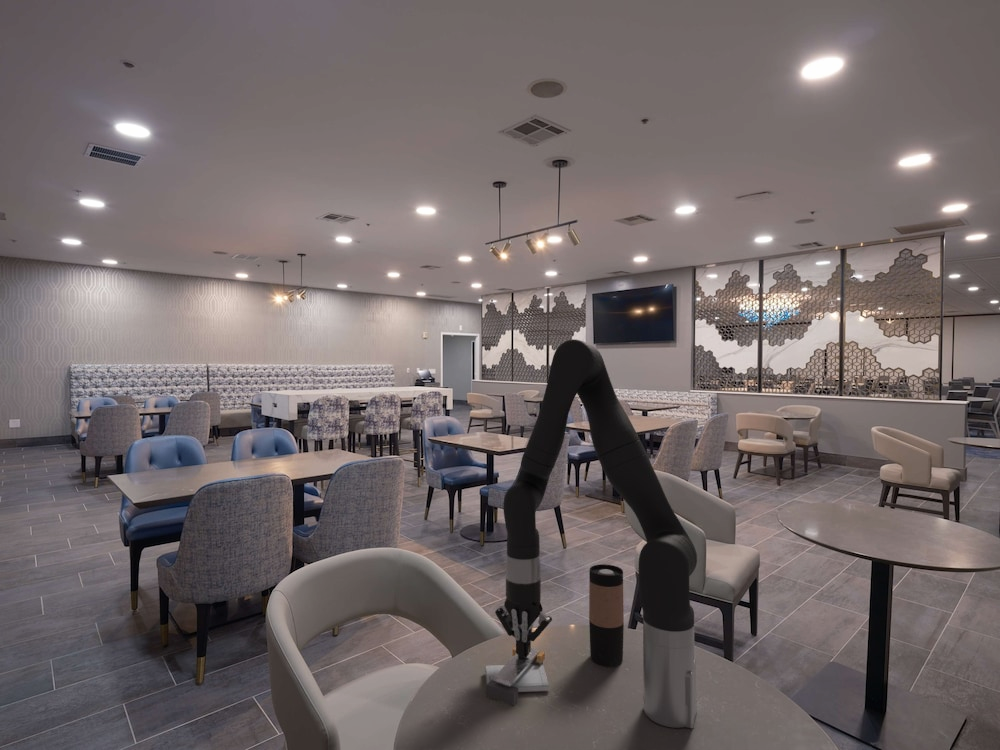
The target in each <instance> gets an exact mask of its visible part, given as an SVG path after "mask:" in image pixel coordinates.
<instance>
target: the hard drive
mask: <svg viewBox="0 0 1000 750" xmlns="http://www.w3.org/2000/svg"><path fill="white" fill-rule="evenodd" d="M505 665H506V664H504V665H501V664H500V665H497V664H496V665H485V668H484V669H485V671H484V673H485V680H486V681H485V683H486V685H485V686H487V684H488V683H489V682H490V681H491V680H492V678H493V677H495V675H496V674H497V673H498V672H499V671H500V670H501V669H502V668H503V667H504V666H505ZM512 686H514V687H517V688H518V693H526V692H527V693H528V692H549V691H550V683H549V680H548V678H547V674H546V670H545V667H544V663H543V664H541V665H540V666H538V665H533V664H530V665H529V666H528V668H527V669H526V670H525V671H524V672H523V673H522V674H521V676H520V677H519V678H518V679H517V680H516V681H515V682H514V684H513V685H512Z"/></svg>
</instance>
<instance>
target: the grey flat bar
mask: <svg viewBox="0 0 1000 750" xmlns="http://www.w3.org/2000/svg"><path fill="white" fill-rule="evenodd" d="M540 651H541V650H540V649H536V648H531V652H530V654H529V655H528V657H526V658H525V659H522V658H518V654H516V655H515V656H513V657H512V658H510V660H509V661H508V662H507V663H506V664H504V665H505V666H504V667H503V668H502V669H501V670H500V671H499V672H498V673H497V674H496V675H495V677H493V678H492V682H494V683H498V684H501V685H505V686H508V687H512V685H513V684H514V682H515V681H516V680H517V679H518V678H519V677H520V676H521V674H522V673H523V672H524V671H525V670H526V669H527V668H528V666H529V665H530V664H531V663H532V662H533V661H534V660H535V658H536V657H537V655H538V654H539V652H540Z"/></svg>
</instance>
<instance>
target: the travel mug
mask: <svg viewBox="0 0 1000 750" xmlns="http://www.w3.org/2000/svg"><path fill="white" fill-rule="evenodd" d="M588 576H589V582H588V583H589V585H588V586H589V587H588V588H589V591H588V593H589V594H588V595H589V601H588V603H589V605H588V608H589V610H588V613H589V614H588V617H589V618H588V620H589V621H588V625H589V626H588V627H589V650H590V651H589V653H590V654H589V655H590V660H591V662H593V663H594V664H596V665H598V666H601V667H603V668H616V667H619V666H620V665H622V664H623V661H624V660H623V658H624V631H625V630H624V629H625V628H624V625H625V623H624V622H625V617H624V614H625V613H624V612H625V609H624V606H625V605H624V570H623V569H622V568H621V567H619V566H616V565H612V564H605V563H604V564H596V565H591V566H590V568H589V575H588Z"/></svg>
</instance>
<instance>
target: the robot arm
mask: <svg viewBox="0 0 1000 750" xmlns="http://www.w3.org/2000/svg"><path fill="white" fill-rule="evenodd" d="M548 373H549V374H548V378H547V383H546V387H545V391H544V394H543V398H542V402H541V406H540V409H539V412H538V415H537V419H536V420H535V423H534V426H533V429H532V431H531V435H530V437H529V439H528V441H527V445H526V447H525V449H524V451H523V454H522V456H521V461H520V467H521V468H520V470H519V474H518V476H517V477H516V478H517V479H516V481H515V483H514V485H512V486H511V487H509V489H507V490H506V492H505V495H504V498H503V516H504V524H505V529H506V534H507V536H506V560H505V561H506V562H505V570H504V571H505V572H504V573H505V601H504V604H503V605H500V606H499V607H498V608H497V609H496V610H495V612H494V613H495V616H496V617H497V619H498V620H499V622H500V623H501V626H502V627H503V629H504V630H505V632H506V633H507V635H508V636H509V637H511V636H512V637H513V638H514V640H515V646H516V653H517V654H518V658H522V659H525V658H526V657H528V655H529V654H530V652H531V646H532V645H531V644H532V643H531V642H535V640H536V639H537V638H538V637H539V636H540V635H541V634H542V633H543V632H544V630H545V629H546V628H547V627H548V626H549V625H550V624H551V622H552V621H553V618H552V616H551V615H547V614H546V613H544V611H543V610H544V609H543V605H542V603H541V599H542V597H541V596H542V595H541V593H542V592H541V591H542V589H541V587H542V585H541V584H542V583H541V582H542V577H541V575H542V573H541V571H542V569H541V568H542V567H541V566H542V565H541V564H542V563H541V557H540V532H539V530H538V528H537V525H536V511H537V509H538V508H539V507H540V506H541V503H542V502H543V499H544V497H545V493H546V490H547V487H548V483H549V479H550V475H551V473H552V472H553V470H554V467H555V465H556V463H557V460H558V457H559V455H560V452H561V450H562V447H563V444H564V440H565V435H566V429H567V423H568V418H569V413H570V411H571V407H572V405H573V402H574V399H575V398H576V395H577V396H578V398H579V399H580V403H582V405H583V408H584V410H585V412H586V417H587V420H588V426H589V432H590V436H591V441H592V442H591V443H592V445H593V450H594V451H595V455H596V457H597V458H598V459H597V460H598V461H599V463H600V466H601V467H602V470H603V472H604V474H605V476H606V478H607V480H608V482H609V483H610V485H611V486H612V487H613V489H614V490H615V491H616V492H617V494H618V495H619V496H620V497H621V498H622V499H623V500H624V501H625V502H626V504H627V505H628V506H629V507H630V509H631V510H632V511H633V513H634V515H635V517H636V519H637V520H638V522H639V525H640V527H641V529H642V532H643V534H644V537H645V540H646V543H645V544H644V546H643V547H642V548H641V550H640V552H639V557H638V590H639V591H638V592H639V596H638V597H639V603H640V606H641V609H642V614H643V615H642V618H643V619H642V620H643V621H642V626H643V627H642V629H643V633H642V635H643V639H642V640H643V643H642V645H643V647H642V648H643V649H642V650H643V651H642V652H643V660H642V661H643V662H642V663H643V664H642V665H643V666H642V667H643V677H642V678H643V697H642V698H643V699H642V700H643V712H644V714H645V715H646V717H648V719H650V720H651V721H652V722H654V723H656V724H659V725H660V726H664V727H667V728H676V729H677V728H680V729H681V728H688V729H693V728H694V724H695V720H696V716H697V712H698V710H697V708H698V706H697V705H698V703H697V702H698V701H697V700H698V699H697V698H698V697H697V695H698V694H697V693H698V691H697V679H698V678H697V677H698V676H697V660H695V611H694V608H693V606H692V605H691V601H690V599H691V598H690V577H691V575H692V574H693V573H694V571H695V569H696V568H697V563H698V554H697V551H696V550H697V549H696V548H695V545H694V543H693V541H692V539H691V538H690V536H689V534H688V533H687V532H686V530H685V528H684V526H683V525H682V523H681V521H680V520H679V518H678V516H677V515H676V513H675V511H674V510H673V508H672V506H671V504H670V502H669V501H668V498H667V496H666V494H665V491H664V489H663V487H662V485H661V482H660V480H659V478H658V475H657V473H656V471H655V470H654V469H655V468H654V467H653V465H652V463H651V460H650V458H649V456H648V454H647V451H646V448H645V447H644V445H643V443H642V440H641V439H640V436H639V435H638V433H637V430H636V429H635V428H634V426H633V423H632V422H631V420H630V418H629V416H628V415H627V412H626V411H625V409H624V408H623V406H622V404H621V402H620V401H619V399H618V397H617V394H616V391H615V389H614V387H613V384H612V381H611V377H610V375H609V373H608V370H607V367H606V364H605V361H604V359H603V356H602V354H601V352H600V351H599V350H598V348H596V347H595V346H594V345H592V344H590V343H588V342H586V341H583V340H581V339H567V340H566V341H564V342H562V343H561V344H560V345H558V346H557V348H556V349H555V350H554V354H553V357H552V360H551V365H550V369H549V372H548ZM537 619H538V620H537ZM536 620H537V622H538V626H537V627H536V629H535V630H534V631H533V627H534V623H535V622H536Z"/></svg>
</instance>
